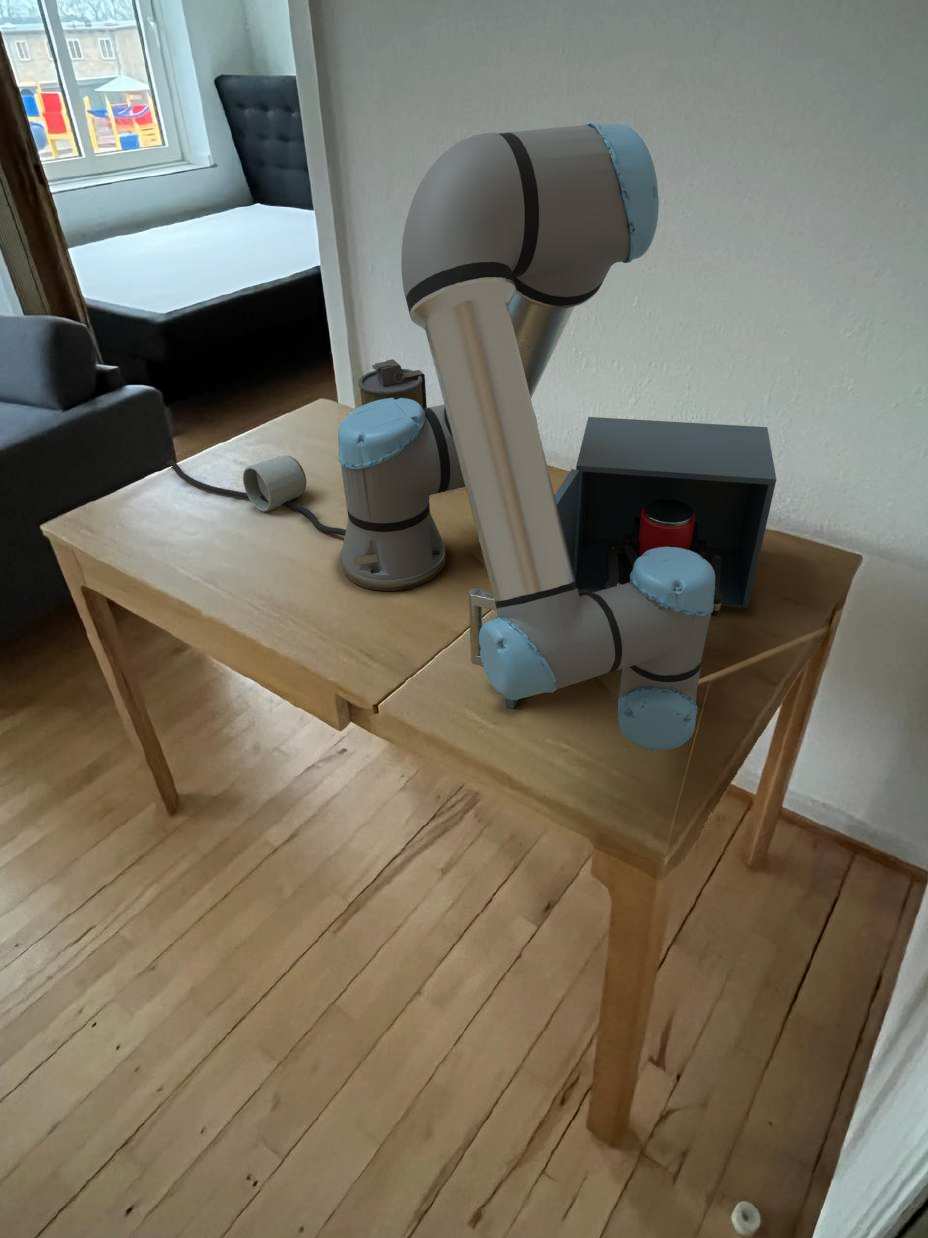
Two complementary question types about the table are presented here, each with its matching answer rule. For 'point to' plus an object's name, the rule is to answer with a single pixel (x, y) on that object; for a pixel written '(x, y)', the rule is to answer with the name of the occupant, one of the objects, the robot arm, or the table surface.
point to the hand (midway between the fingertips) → (664, 528)
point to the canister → (392, 384)
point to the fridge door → (568, 514)
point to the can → (665, 525)
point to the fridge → (674, 492)
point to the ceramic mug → (274, 482)
